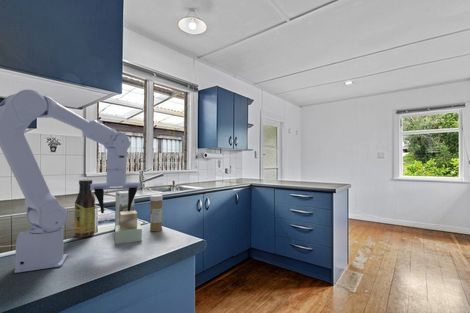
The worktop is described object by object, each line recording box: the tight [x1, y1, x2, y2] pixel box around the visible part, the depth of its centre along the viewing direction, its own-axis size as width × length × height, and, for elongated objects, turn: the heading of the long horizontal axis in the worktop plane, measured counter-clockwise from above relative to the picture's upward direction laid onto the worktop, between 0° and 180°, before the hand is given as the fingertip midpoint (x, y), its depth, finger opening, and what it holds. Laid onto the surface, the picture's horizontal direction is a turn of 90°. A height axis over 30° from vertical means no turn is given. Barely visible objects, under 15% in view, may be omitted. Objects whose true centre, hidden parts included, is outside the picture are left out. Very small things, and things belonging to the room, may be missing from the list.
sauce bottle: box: [73, 178, 96, 239], centre depth 89 cm, size 7×6×20 cm
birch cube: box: [120, 209, 138, 230], centre depth 85 cm, size 5×5×5 cm
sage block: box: [114, 222, 143, 245], centre depth 85 cm, size 8×8×4 cm
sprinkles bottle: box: [149, 194, 164, 232], centre depth 96 cm, size 5×5×14 cm
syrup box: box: [114, 190, 135, 228], centre depth 98 cm, size 6×6×14 cm
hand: (115, 211), depth 81 cm, fingers open, 7 cm apart
